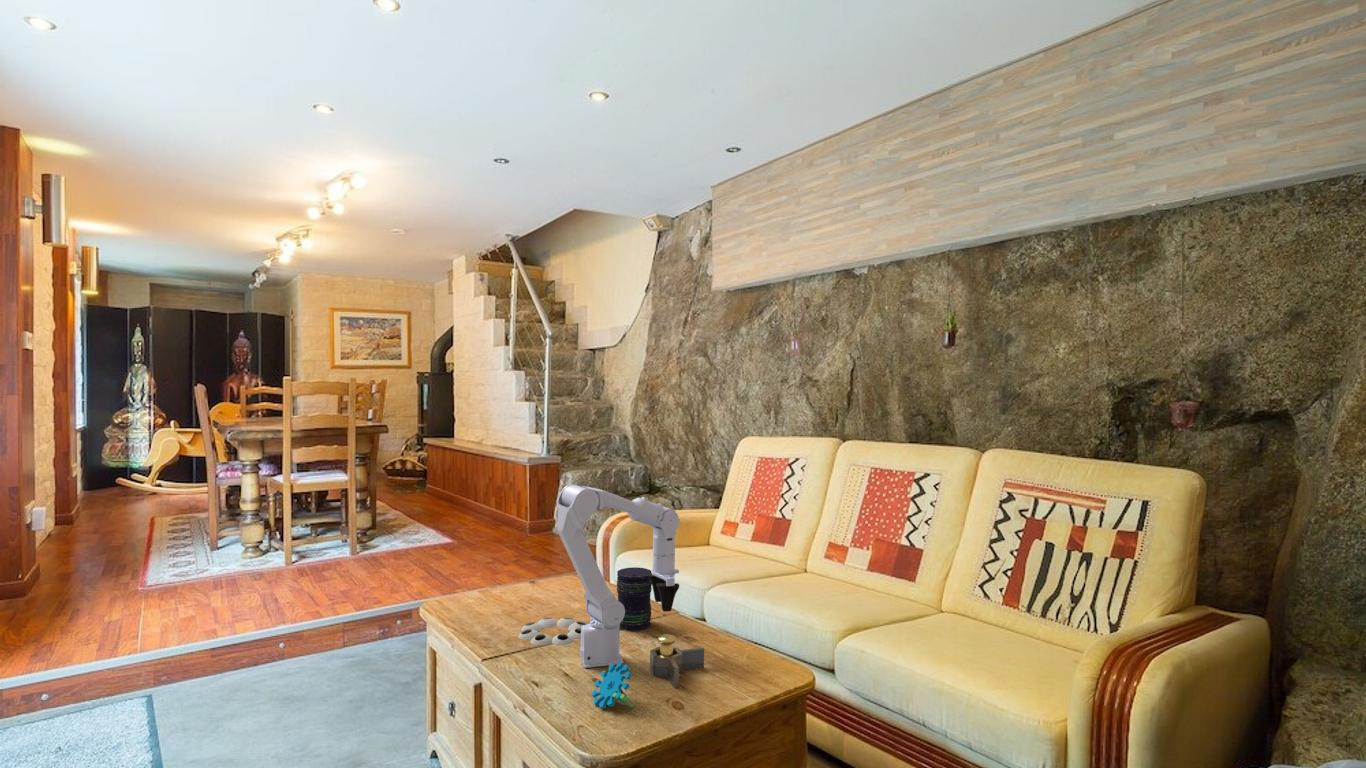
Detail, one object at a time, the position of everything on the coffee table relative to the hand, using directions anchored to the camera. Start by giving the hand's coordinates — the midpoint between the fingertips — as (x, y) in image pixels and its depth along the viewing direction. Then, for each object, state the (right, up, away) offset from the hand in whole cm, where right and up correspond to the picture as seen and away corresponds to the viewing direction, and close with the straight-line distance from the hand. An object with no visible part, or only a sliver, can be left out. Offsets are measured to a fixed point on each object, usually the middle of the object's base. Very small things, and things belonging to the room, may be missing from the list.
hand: (663, 606), depth 177 cm
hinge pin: (+1, -10, -15) cm, 18 cm away
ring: (-30, -11, +9) cm, 33 cm away
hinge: (+5, -10, -17) cm, 21 cm away
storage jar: (-9, -11, +15) cm, 20 cm away
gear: (-10, -11, -32) cm, 35 cm away
